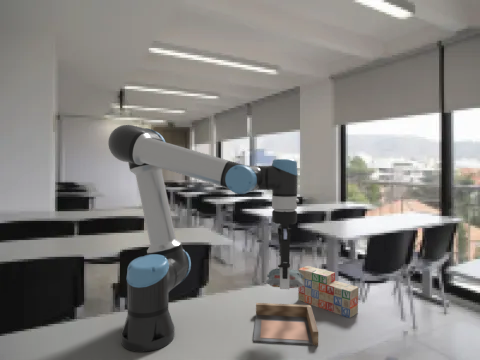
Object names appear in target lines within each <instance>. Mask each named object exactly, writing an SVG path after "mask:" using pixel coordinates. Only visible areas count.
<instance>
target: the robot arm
mask: <svg viewBox="0 0 480 360" xmlns="http://www.w3.org/2000/svg"><path fill="white" fill-rule="evenodd" d="M107 144H108V149H109V152H110V153H111V155H112V156H113V157H114V158H115V159H116V160H118V161H121V162H125V163H127V164H128V166H129V172H130V173H132V174H134V175H135V177H136V183H137V186H138V192H139V197H140V202H141V207H142V213H143V215H144V221H145V225H146V230H147V234H148V240H149V247H148V249H146V253H147V254H146V255H144V256H142V255H141V256H139V257H136V258H134V259H133V260H131V261H130V262H129V264H128V266H127V273H126V277H125V278H126V292H127V293H126V295H127V296H126V297H127V299H126V301H127V315H126V318H125V321H124V324H123V328H122V329H121V330H122V331H121V334H120V336H121V337H120V338H121V339H120V340H121V341H120V342H121V345H122V347H123V348H125V349H126V350H128V351H131V352H139V353H142V352H144V353H145V352H150V351H151V352H152V351H155V350H159V349H161V348H162V349H163V348H164V347H166V346H167V345H169V344H171V342H173V340H174V338H175V325H174V322H173V319H172V317H171V314H170V313H171V312H170V310H169V293H170V291H172V290H173V289H174V288H176V287H177V286H178V285H179V284H182V282H183V281H185V279H186V278H187V277H188V276H189V273H190V271H191V269H192V268H191V267H192V262H191V257H190V255H189V253H188V252H187V251H185V249H184V248H183V244H182V241H179V239H177V237H176V233H175V228H174V227H175V226H174V222H173V218H172V215H171V209H170V204H169V199H168V194H167V190H166V185H165V179H164V175H163V170H166V171H169V172H172V173H176V174H179V175H182V176H185V177H189V178H193V179H196V180H199V181H202V182H206V183H209V184H213V185H215V186H218V187H222V188H225V189H227V190H230V191H231V192H232V193H234V194H239V195H245V194H247V193H250V192H252V191H271V192H272V193H271V194H272V196H271V208H272V209H273V210H272V211H271V213H272V214H271V221H272V223H273V224H277V225H279V226H278V227H277V235H278V244H279V250H278V252H279V254H278V255H279V257H278V263H279V264H278V265H277V268H278V269H280V287H279V289H280V290H290V288H289V275H290V269H291V268H290V267H291V261H290V260H291V259H290V254H291V253H290V252H291V250H290V248H291V247H290V244H291V238H292V237H291V236H292V228H289V227H290V226H289V225H294V224H296V223H297V222H298V212H297V208H298V203H299V202H300V200H299V198H298V162H297V161H296V160H295V159H292V158H289V159H288V158H286V159H285V158H281V159H279V158H276V159H273V160H272V163H271V165H245V164H242V163H239V162H238V163H237V162H235V161H231V160H229V159H224V158H221V157H218V156H214V155H210V154H207V153H205V152H200V151H198V150H194V149H190V148H186V147H183V146H180V145H176V144H172V143H169V142H166V140H165V138H164V137H163V135H161V133H159V132H158V131H156V130H154V129H151V128H145V127H140V126H137V125H132V124H122V125H120V126H118V127H116V128H114V130H112V131H111V133H110V134H109V136H108V143H107Z"/></svg>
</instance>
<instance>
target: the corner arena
mask: <svg viewBox="0 0 480 360" xmlns="http://www.w3.org/2000/svg"><path fill="white" fill-rule="evenodd" d="M255 303H256V305H255V319H254V320H255V321H254V329H253V339H252V341H253V343H265V344H267V343H269V344H283V345H284V344H285V345H303V346H316V347H317V346H318V347H319V329H318V326H317V322H316V318H315V315H314V311H313V308H312V305H311V304H295V303H293V304H292V303H291V304H289V303H270V302H269V303H268V302H267V303H266V302H265V303H264V302H255Z"/></svg>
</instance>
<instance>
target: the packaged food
mask: <svg viewBox="0 0 480 360" xmlns="http://www.w3.org/2000/svg"><path fill="white" fill-rule="evenodd" d="M266 277H267V278H268V279H266V280H265V281H264V282H263V285H269V286H270V287H273V288H280V269H279V268H274V269H273V268H272V269H271V270H270V271H269V272H268V274H266ZM303 277H304V276H303V275H302V274H301V273H300V272H298V269H297V270H296V269H291V268H290V275H289V289H297V288H298V287H300V286H304V284H305V283H304V282H303V280H302V278H303Z"/></svg>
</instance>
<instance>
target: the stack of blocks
mask: <svg viewBox="0 0 480 360" xmlns="http://www.w3.org/2000/svg"><path fill="white" fill-rule="evenodd" d="M297 271H298V272H300V273H301V274H302V275H303V276H304V277H303V278H302V280H303V282H304V283H305V284H304V286H300V287H298V296H297V298H298V301H301V302H304V303H306V304H307V305H311V306H313V307H316V308H321V309H323V310H327V311H328V310H329V311H328V312H331V311H332V313H334V314H336V315H340V316H343V317H346V318H348V319H349V318H350V319H351V318H352V317H353V316H355V315H356V314H358V313H359V286H356V285H352V284H349V283H345V282H342V281H338V280H336V272H334V271H330V270H327V269H324V268H317V267H314V266H310V265H306V266H303V267H300V268H298V269H297Z"/></svg>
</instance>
